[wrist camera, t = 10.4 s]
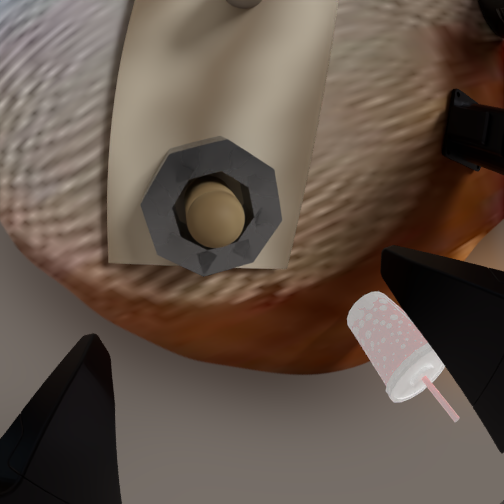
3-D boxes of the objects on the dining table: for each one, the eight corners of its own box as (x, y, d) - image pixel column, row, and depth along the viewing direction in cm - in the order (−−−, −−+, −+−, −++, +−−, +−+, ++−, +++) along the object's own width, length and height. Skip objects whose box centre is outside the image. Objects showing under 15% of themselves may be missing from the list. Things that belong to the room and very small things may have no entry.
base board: (335, -26, 13) (384, -54, 8) (282, 262, 22) (315, 310, 17) (159, -62, 10) (159, -111, 4) (111, 256, 18) (93, 308, 13)
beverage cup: (329, 336, 27) (407, 456, 15) (358, 280, 25) (465, 398, 13) (374, 336, 29) (451, 435, 17) (402, 287, 27) (498, 382, 15)
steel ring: (255, 128, 16) (267, 130, 14) (273, 235, 20) (287, 252, 17) (135, 159, 15) (128, 166, 13) (168, 265, 19) (169, 286, 17)
